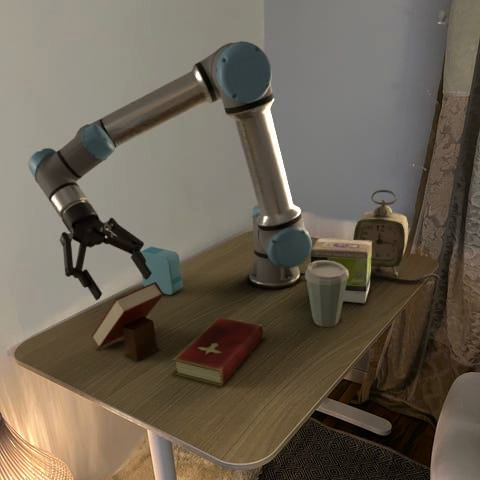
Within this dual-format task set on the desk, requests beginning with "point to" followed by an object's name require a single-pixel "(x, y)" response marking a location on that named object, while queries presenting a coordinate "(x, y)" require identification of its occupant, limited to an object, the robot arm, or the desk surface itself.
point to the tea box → (348, 263)
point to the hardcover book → (218, 350)
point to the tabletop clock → (384, 234)
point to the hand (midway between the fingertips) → (124, 286)
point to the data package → (163, 269)
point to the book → (126, 312)
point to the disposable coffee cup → (326, 290)
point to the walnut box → (140, 338)
